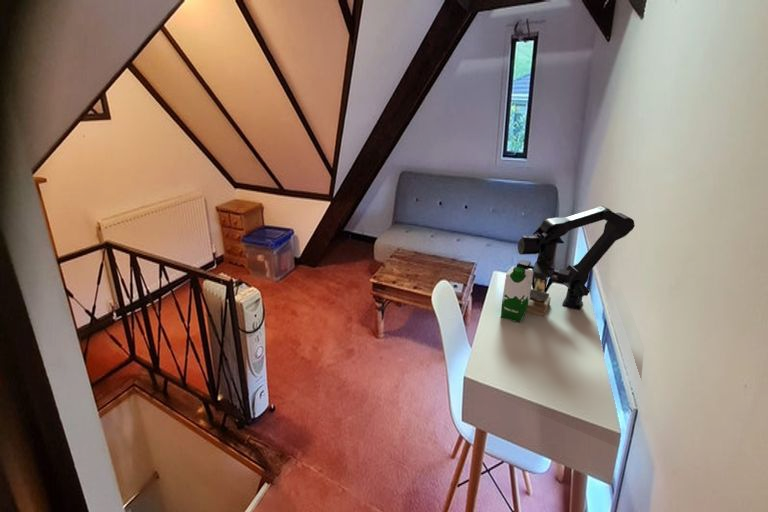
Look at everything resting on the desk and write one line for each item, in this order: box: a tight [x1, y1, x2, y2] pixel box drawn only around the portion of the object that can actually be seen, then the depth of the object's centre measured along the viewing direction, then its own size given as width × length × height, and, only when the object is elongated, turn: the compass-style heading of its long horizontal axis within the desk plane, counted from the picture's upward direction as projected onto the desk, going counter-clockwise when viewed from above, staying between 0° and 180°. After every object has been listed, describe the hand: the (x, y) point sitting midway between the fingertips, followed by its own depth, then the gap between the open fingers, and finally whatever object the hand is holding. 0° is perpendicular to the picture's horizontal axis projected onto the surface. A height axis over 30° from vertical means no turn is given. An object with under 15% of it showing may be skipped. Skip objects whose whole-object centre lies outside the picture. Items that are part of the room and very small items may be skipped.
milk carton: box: [500, 265, 533, 323], centre depth 142 cm, size 9×9×20 cm
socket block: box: [525, 288, 552, 317], centre depth 150 cm, size 10×8×8 cm
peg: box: [534, 278, 549, 301], centre depth 149 cm, size 4×4×9 cm
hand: (539, 290), depth 150 cm, fingers open, 4 cm apart
